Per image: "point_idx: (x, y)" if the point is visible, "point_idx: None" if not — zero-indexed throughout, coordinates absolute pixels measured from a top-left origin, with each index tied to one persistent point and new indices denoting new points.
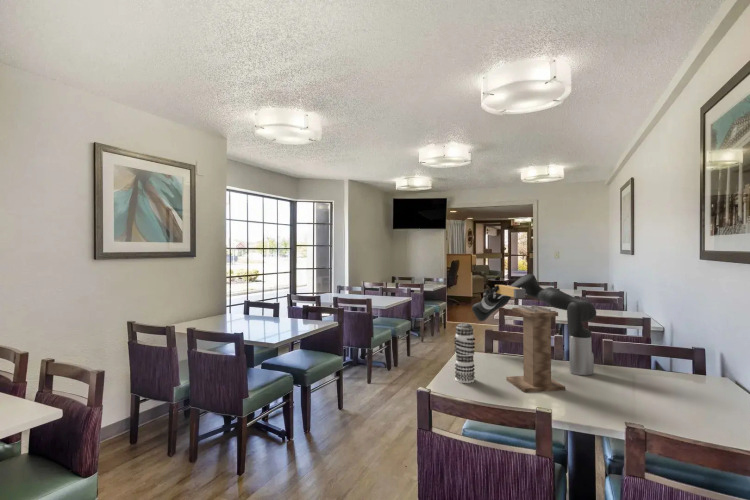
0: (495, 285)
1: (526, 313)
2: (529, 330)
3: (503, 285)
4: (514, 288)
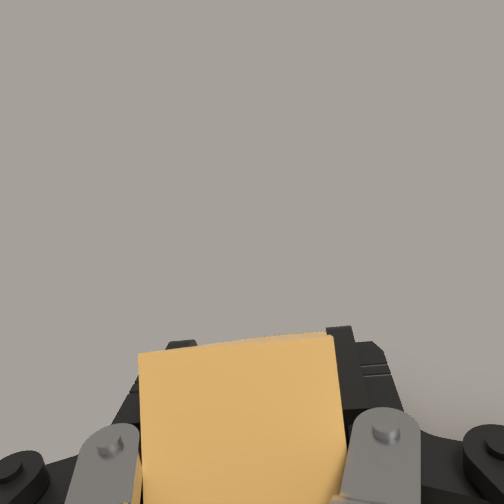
0: (334, 349)
1: None
2: None
3: (234, 342)
4: (312, 332)
